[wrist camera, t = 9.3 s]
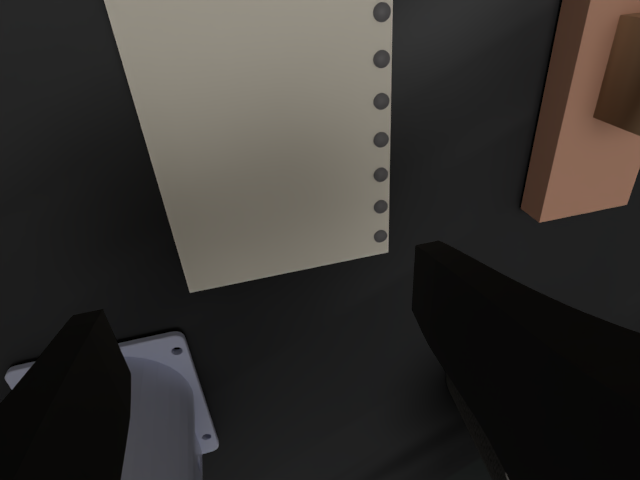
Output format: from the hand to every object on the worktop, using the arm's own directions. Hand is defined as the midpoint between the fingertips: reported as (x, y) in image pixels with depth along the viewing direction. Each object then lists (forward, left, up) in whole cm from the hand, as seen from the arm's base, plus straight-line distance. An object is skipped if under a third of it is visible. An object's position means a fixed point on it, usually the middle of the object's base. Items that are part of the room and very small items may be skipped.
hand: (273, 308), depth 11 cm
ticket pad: (+2, -2, -9) cm, 10 cm away
